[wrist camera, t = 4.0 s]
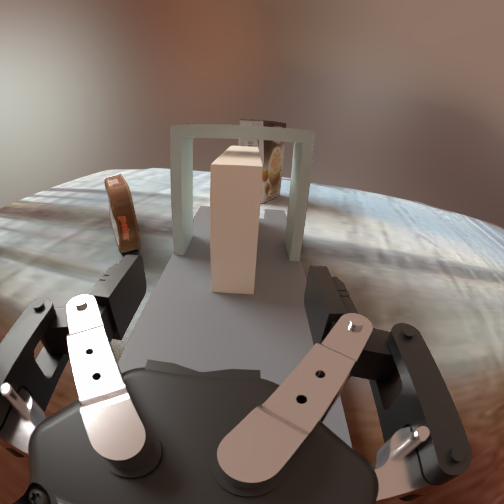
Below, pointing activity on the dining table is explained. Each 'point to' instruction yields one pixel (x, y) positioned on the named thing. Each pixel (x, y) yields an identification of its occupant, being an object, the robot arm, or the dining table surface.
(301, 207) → the tunnel
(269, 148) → the coffee box
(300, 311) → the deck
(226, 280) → the block
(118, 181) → the tin
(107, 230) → the dining table surface
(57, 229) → the dining table surface
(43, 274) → the dining table surface
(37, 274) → the dining table surface
